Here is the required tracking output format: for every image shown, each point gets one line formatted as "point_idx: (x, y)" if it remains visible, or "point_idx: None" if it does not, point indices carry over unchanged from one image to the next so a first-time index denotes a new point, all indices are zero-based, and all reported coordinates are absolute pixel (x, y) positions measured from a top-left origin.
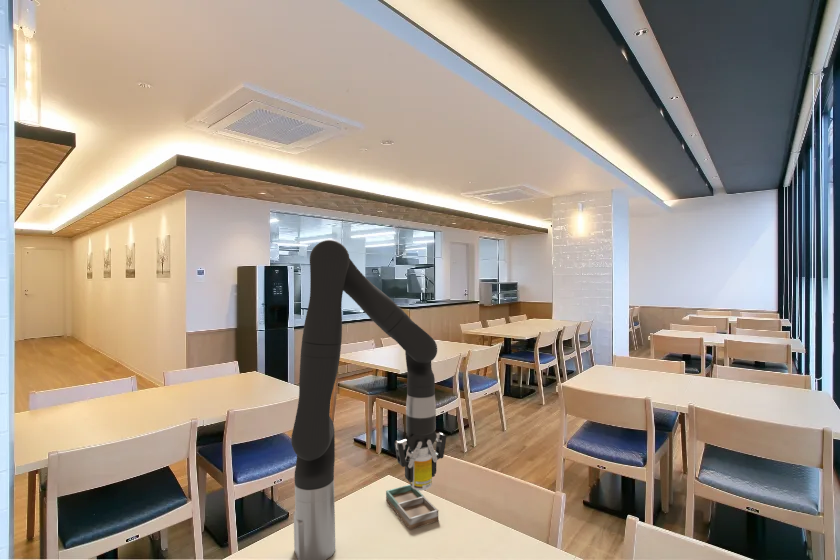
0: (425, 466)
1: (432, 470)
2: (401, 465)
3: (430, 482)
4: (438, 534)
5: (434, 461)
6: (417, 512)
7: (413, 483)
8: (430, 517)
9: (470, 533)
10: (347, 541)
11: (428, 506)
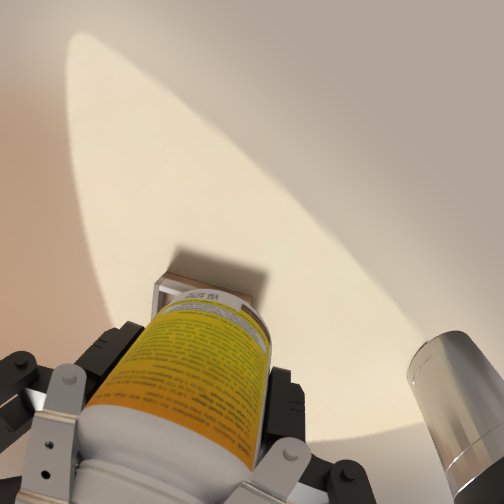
0: (182, 383)
1: (124, 346)
2: (364, 471)
3: (179, 301)
4: (204, 227)
5: (81, 374)
6: None
7: (269, 357)
8: (184, 285)
9: (136, 171)
10: (388, 355)
11: None
